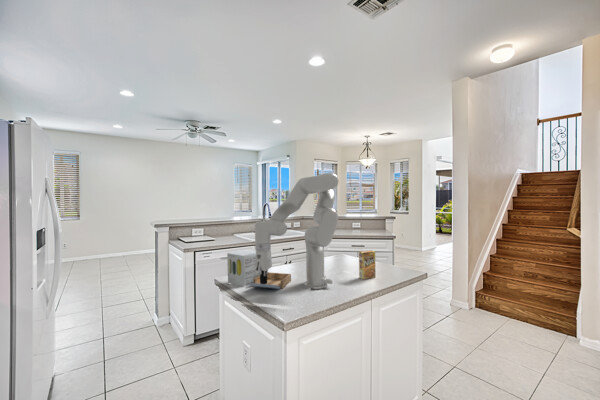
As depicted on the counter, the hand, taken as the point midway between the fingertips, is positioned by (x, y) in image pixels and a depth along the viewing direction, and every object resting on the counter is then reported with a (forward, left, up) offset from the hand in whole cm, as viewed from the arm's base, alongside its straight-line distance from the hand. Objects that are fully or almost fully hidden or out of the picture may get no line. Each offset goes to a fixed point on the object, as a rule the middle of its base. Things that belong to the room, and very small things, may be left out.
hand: (263, 283), depth 137 cm
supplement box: (+17, -12, -5) cm, 21 cm away
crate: (0, -12, -5) cm, 13 cm away
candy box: (-48, -39, -5) cm, 62 cm away
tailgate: (0, -6, -4) cm, 7 cm away
